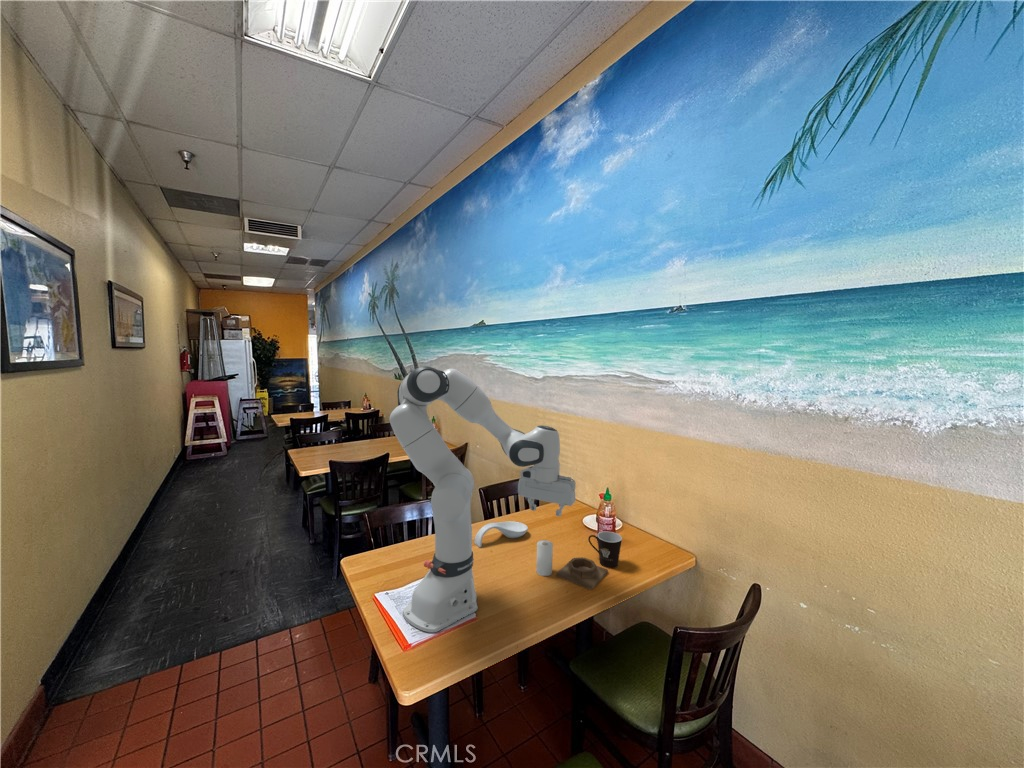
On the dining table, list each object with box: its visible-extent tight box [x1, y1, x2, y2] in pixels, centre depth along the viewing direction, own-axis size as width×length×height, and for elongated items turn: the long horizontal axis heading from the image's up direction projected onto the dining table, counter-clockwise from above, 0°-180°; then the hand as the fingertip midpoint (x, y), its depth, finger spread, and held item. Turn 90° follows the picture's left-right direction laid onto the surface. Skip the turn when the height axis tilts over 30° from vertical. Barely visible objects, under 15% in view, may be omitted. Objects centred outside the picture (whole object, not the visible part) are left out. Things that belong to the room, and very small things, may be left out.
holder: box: [555, 556, 609, 591], centre depth 132 cm, size 13×13×4 cm
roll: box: [536, 539, 554, 577], centre depth 133 cm, size 5×5×10 cm
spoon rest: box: [473, 520, 529, 548], centre depth 158 cm, size 24×12×7 cm, turn 126°
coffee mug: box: [587, 530, 623, 569], centre depth 140 cm, size 12×9×10 cm
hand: (545, 512), depth 132 cm, fingers open, 8 cm apart
